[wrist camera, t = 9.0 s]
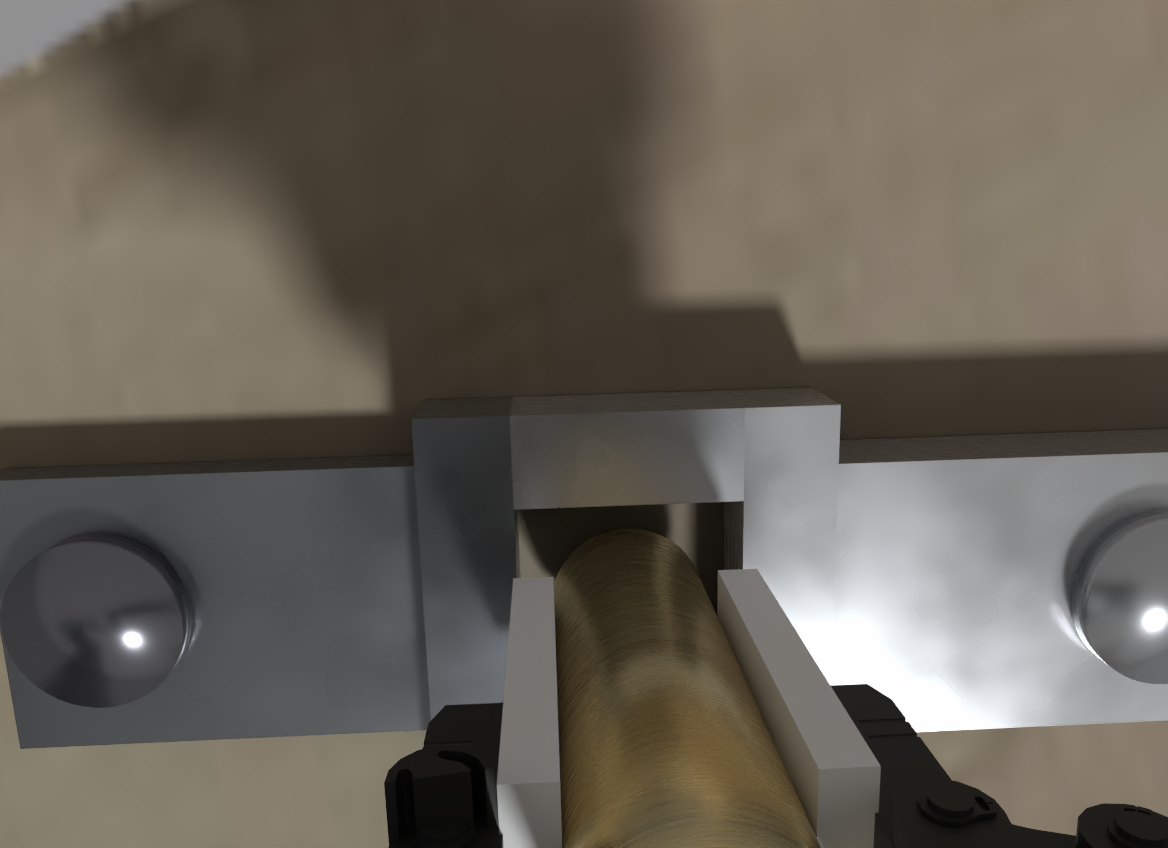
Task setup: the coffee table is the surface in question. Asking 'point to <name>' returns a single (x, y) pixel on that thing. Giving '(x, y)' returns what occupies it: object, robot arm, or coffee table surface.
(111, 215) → the coffee table surface
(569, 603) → the pin
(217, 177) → the coffee table surface
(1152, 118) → the coffee table surface
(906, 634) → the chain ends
